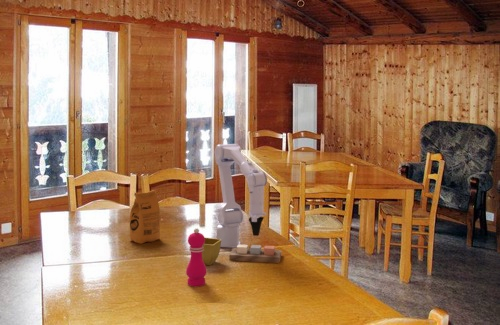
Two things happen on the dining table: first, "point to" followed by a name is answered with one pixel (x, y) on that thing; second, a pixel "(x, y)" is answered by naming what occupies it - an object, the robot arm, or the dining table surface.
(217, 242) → the flower pot
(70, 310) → the dining table surface
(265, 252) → the brick key
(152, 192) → the coffee package
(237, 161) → the robot arm
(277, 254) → the walnut bezel
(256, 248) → the slate key
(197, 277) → the pepper mill
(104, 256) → the dining table surface
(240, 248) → the ivory key
